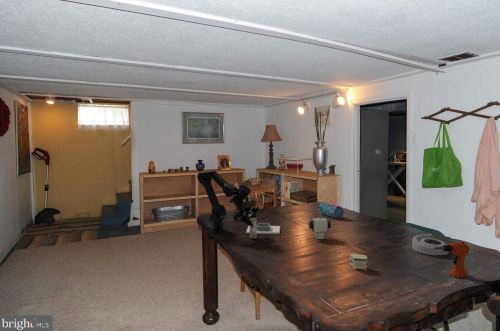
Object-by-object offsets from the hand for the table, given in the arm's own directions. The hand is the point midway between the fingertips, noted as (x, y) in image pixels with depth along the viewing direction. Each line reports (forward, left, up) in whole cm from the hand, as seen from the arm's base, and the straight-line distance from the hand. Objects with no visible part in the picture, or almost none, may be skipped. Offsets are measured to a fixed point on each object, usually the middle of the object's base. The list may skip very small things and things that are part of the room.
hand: (255, 225), depth 180 cm
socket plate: (-5, +16, -7) cm, 19 cm away
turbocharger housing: (+83, +33, -8) cm, 89 cm away
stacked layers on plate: (+61, -8, -8) cm, 62 cm away
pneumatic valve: (+30, +21, -8) cm, 37 cm away
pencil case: (+14, +74, -8) cm, 76 cm away
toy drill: (+94, +4, -8) cm, 95 cm away
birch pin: (-1, 0, -7) cm, 7 cm away
